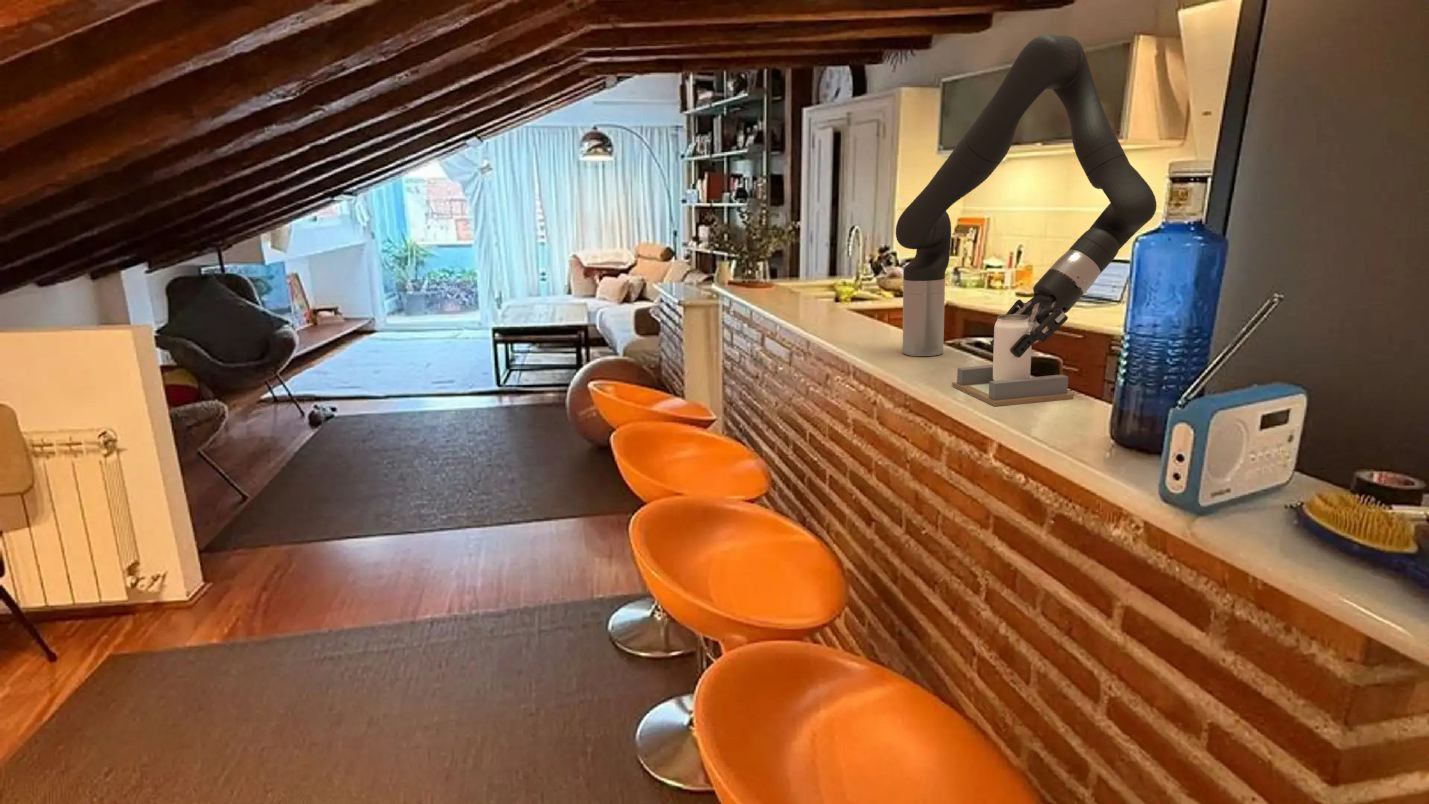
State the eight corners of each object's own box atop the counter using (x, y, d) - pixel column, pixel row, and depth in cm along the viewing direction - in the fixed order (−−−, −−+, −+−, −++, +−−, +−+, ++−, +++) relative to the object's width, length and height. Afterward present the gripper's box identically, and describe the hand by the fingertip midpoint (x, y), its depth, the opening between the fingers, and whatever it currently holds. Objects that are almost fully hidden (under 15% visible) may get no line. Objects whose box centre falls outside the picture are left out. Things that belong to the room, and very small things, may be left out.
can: (1024, 376, 149) (1027, 313, 146) (1034, 384, 143) (1037, 318, 140) (988, 377, 150) (990, 314, 147) (997, 386, 144) (999, 320, 141)
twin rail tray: (952, 386, 153) (952, 367, 152) (1023, 379, 156) (1024, 360, 155) (994, 406, 138) (995, 385, 137) (1073, 398, 140) (1074, 377, 140)
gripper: (1031, 264, 149) (971, 331, 151) (1078, 270, 136) (1011, 344, 137) (1055, 290, 152) (996, 356, 153) (1104, 299, 138) (1038, 371, 139)
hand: (1004, 350), depth 145 cm, fingers closed on can, 6 cm apart
